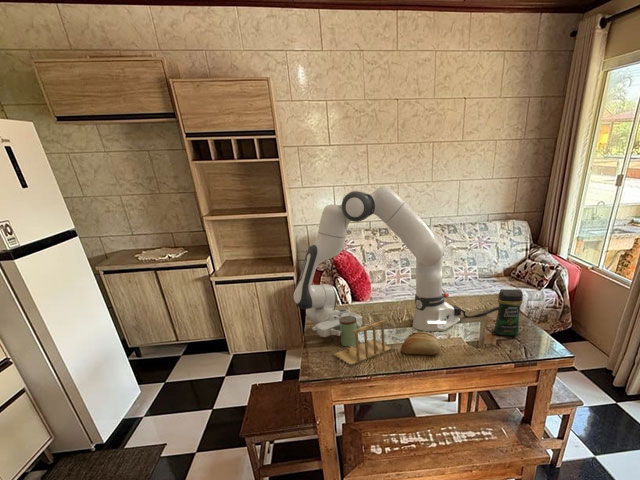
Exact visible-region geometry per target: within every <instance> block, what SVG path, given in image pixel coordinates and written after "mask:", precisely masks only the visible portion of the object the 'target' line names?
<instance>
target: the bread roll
mask: <svg viewBox="0 0 640 480" xmlns="http://www.w3.org/2000/svg"><path fill="white" fill-rule="evenodd" d="M400 348H401V349H400V350H401V352H402V353H403V354H406V355H423V356H436V355H438V354H440V352H441V349H442V347H441V344H440V342H439V340H438V338H437V337H436V336H435V335H434V334H432V333H430V332H428V331H416V332H412V333H411V334H409V335H408V336H407V337H406V338H405V339H404V341H403V342H402V344H401V347H400Z"/></svg>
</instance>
